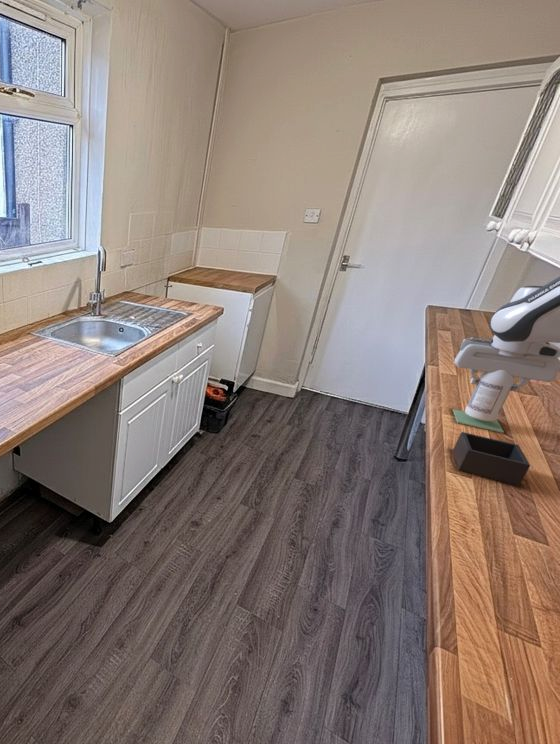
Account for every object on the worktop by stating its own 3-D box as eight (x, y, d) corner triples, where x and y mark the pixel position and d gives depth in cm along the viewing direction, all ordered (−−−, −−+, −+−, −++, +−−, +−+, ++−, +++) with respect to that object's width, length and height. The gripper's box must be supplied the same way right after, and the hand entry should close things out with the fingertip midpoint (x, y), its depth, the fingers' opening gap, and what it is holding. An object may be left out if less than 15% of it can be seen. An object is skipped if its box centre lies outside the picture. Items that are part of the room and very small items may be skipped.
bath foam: (481, 410, 128) (508, 350, 120) (502, 422, 121) (533, 358, 113) (457, 410, 128) (484, 350, 120) (478, 421, 122) (507, 358, 114)
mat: (495, 419, 127) (496, 418, 126) (503, 433, 119) (504, 432, 119) (452, 410, 132) (453, 408, 132) (457, 422, 125) (457, 421, 124)
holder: (507, 464, 105) (518, 444, 103) (518, 486, 97) (530, 465, 95) (452, 450, 111) (461, 431, 109) (458, 470, 103) (468, 450, 101)
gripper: (466, 338, 119) (447, 382, 124) (572, 353, 108) (546, 400, 113) (462, 333, 123) (444, 375, 129) (563, 346, 112) (539, 392, 118)
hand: (493, 387), depth 121 cm, fingers closed on bath foam, 7 cm apart
